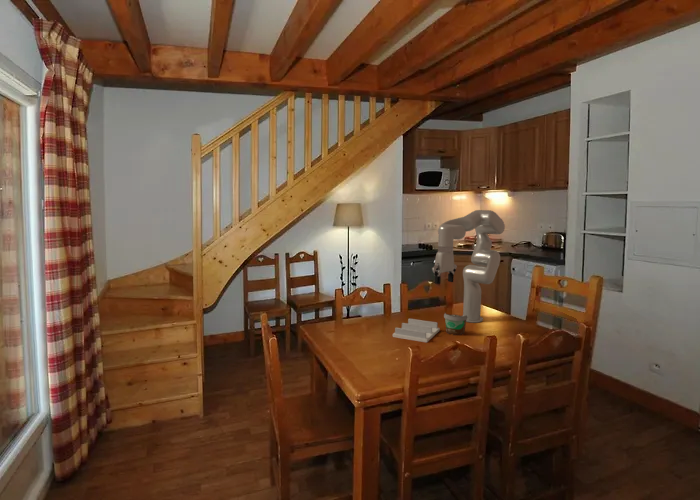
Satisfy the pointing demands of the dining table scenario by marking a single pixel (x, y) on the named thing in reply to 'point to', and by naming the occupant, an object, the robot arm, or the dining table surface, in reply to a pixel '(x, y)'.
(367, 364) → the dining table surface
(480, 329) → the dining table surface
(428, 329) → the rack
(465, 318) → the food container
